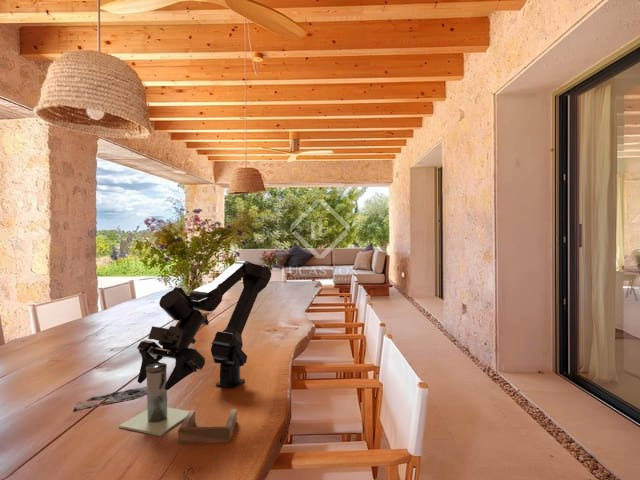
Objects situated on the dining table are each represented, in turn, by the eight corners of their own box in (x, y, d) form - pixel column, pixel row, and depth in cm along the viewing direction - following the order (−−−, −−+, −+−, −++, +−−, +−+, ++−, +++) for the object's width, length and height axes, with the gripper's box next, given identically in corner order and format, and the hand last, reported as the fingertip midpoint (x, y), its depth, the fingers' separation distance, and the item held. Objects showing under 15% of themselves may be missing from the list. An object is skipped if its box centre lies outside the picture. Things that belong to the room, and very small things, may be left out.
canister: (163, 412, 108) (162, 361, 108) (170, 418, 105) (169, 366, 104) (144, 417, 105) (143, 365, 105) (151, 424, 102) (149, 370, 101)
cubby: (190, 422, 104) (190, 410, 104) (236, 421, 105) (236, 409, 104) (178, 443, 94) (178, 429, 94) (229, 442, 95) (229, 428, 94)
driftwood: (154, 388, 127) (154, 381, 126) (158, 396, 121) (158, 389, 121) (73, 404, 116) (73, 397, 116) (74, 414, 110) (73, 406, 110)
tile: (154, 406, 113) (154, 405, 113) (193, 413, 109) (192, 411, 109) (119, 427, 101) (118, 425, 101) (160, 436, 97) (160, 433, 97)
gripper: (142, 309, 112) (104, 363, 102) (196, 316, 103) (160, 376, 94) (166, 332, 119) (133, 385, 110) (218, 341, 110) (187, 399, 101)
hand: (152, 385), depth 103 cm, fingers open, 9 cm apart
